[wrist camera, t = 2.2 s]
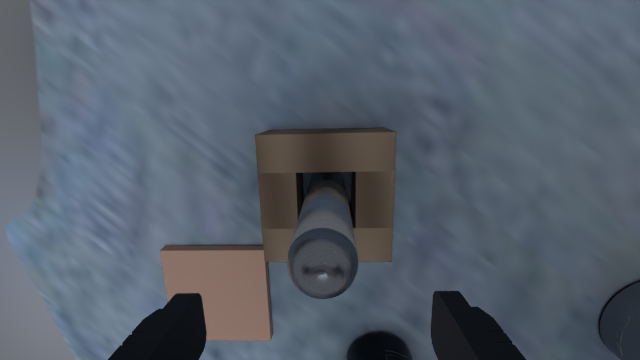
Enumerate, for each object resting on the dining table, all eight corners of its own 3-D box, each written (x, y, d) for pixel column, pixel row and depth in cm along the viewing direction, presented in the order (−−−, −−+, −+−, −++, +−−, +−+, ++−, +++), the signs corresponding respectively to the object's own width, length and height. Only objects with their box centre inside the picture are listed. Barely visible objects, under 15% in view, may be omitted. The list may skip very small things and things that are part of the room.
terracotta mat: (266, 245, 29) (264, 250, 28) (272, 333, 31) (270, 340, 30) (165, 245, 29) (159, 250, 28) (179, 332, 31) (174, 339, 30)
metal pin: (344, 166, 27) (362, 243, 11) (344, 201, 27) (361, 315, 12) (309, 167, 27) (279, 244, 12) (310, 201, 27) (283, 315, 12)
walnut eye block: (383, 127, 26) (396, 131, 21) (381, 235, 28) (391, 261, 23) (269, 130, 26) (254, 134, 21) (276, 235, 28) (264, 262, 23)
